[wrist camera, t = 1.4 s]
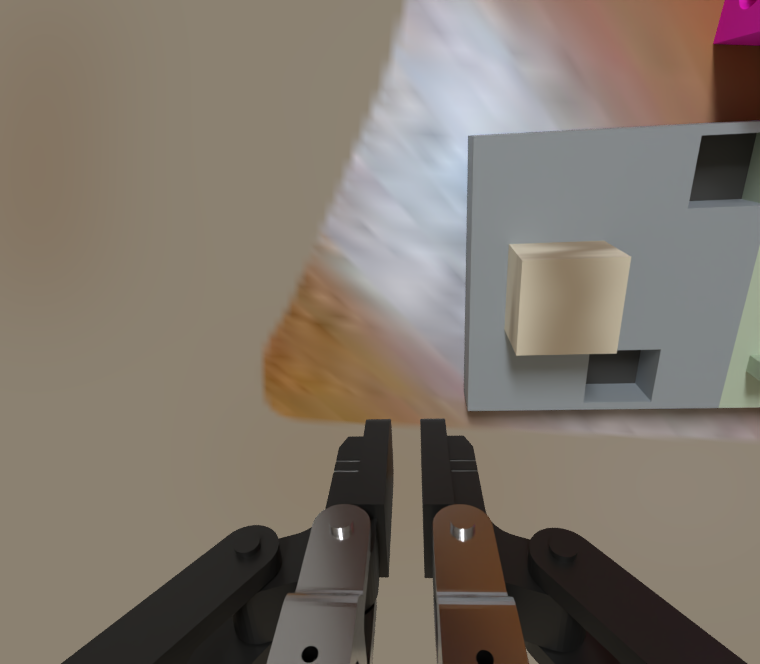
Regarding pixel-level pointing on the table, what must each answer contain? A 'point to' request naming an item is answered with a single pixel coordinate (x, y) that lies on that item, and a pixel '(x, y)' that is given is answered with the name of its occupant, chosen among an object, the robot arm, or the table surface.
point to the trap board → (647, 267)
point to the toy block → (739, 23)
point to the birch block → (565, 297)
